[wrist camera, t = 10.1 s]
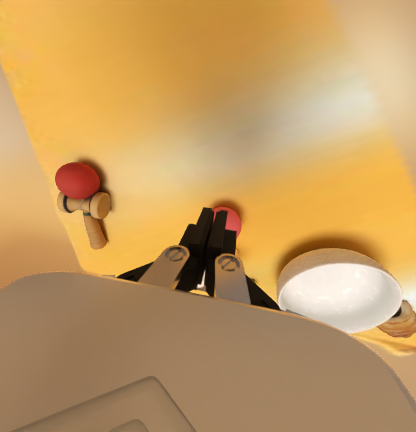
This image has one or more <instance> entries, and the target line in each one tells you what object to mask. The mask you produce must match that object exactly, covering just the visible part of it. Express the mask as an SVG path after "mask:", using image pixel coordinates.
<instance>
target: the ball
mask: <svg viewBox="0 0 416 432" xmlns="http://www.w3.org/2000/svg"><path fill="white" fill-rule="evenodd" d="M220 210H227V211H228V215H227V222H226V229H228V230H234V231H237V235H236V238H237V237H238V236H239V234H240V231H241V220H240V218H239V216H238V214H237V213H236V212H235V211H234V210H232V209H230V208H227V207H218V208H215V209H213V210H212V211H214V219H215V216H216V212H217V211H219V212H220ZM213 223H214V222H213Z"/></svg>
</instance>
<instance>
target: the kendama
mask: <svg viewBox="0 0 416 432" xmlns="http://www.w3.org/2000/svg"><path fill="white" fill-rule="evenodd" d="M55 182H56V185H57V187H58V189H59V190H60V191H61V192H60V193H59V195H58V199H57V204H58V208H59V209H60V210H61V211H63V212H66V213H72V212H74V211H76V210H83V215H84V221H85V226H86V230H87V233H88V237H89V240H90V245H91V247H92V248H93V249H101V248H103V247H104V246H105V245H106V243H107V241H106V239H105V237H104V235H103V233H102V230H101V228H100V225H99V223H98V221H97V219H104V218H105V217H106V216H107V215H108V213H109V210H110V206H111V201H110V197H109V195H108V194H107V193H103V192H97V191H98V189H99V186H100V179H99V176H98V174H97V173H96V171H95V170H94V169H93V168H91V167H90V166H88V165H86V164H83V163H81V162H74V163H68V164H65V165H63V166H62V167H60V168H59V169H58V171H57V173H56V176H55ZM96 218H97V219H96Z"/></svg>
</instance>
